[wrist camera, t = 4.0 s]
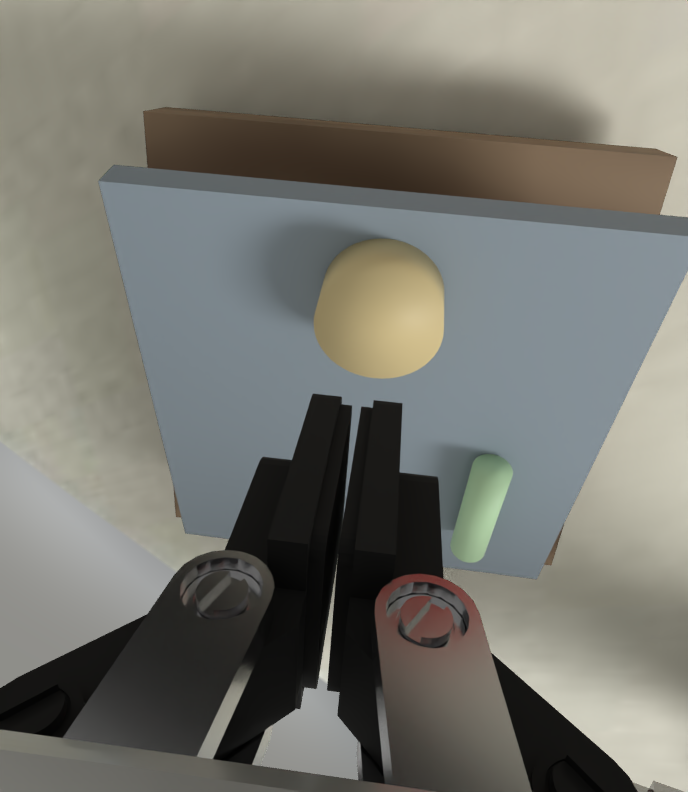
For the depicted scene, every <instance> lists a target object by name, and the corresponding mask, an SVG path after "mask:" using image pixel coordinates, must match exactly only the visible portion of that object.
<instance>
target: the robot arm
mask: <svg viewBox="0 0 688 792" xmlns="http://www.w3.org/2000/svg"><path fill="white" fill-rule="evenodd" d="M402 404H403V403H396V402H387V401H378V400H374V401H373V408H371V407H362V406H361V412H360V418H359V424H358V430H357V436H356V443H355V449H354V455H353V461H352V468H351V474H350V480H349V486H348V493H347V499H346V505H345V511H344V503H345V491H346V478H347V466H348V454H349V442H350V430H351V418H352V405H344V404H342V397H341V396H331V395H322V394H312V397H311V400H310V403H309V407H308V410H307V413H306V416H305V419H304V423H303V426H302V429H301V432H300V436H299V439H298V442H297V445H296V448H295V452H294V455H293V458H292V460H288V459H279V458H270V457H262V458H261V460H260V462H259V464H258V466H257V469H256V471H255V474H254V477H253V479H252V482H251V484H250V487H249V489H248V492H247V495H246V497H245V500H244V502H243V505H242V507H241V510H240V513H239V515H238V518H237V520H236V523H235V525H234V528H233V531H232V533H231V536H230V538H229V541H228V543H227V546H226V549H225V550H222V551H212V552H209V553H206V554H203V555H200V556H197V557H195V558H194V559H192V560H190V561H189V562H187V563H186V564H184V565H183V566H182V567H181V568H180V569H179V570H178V571H177V573H176V574H175V575H174V576H173V578H172V579H171V581H170V582H169V583H168V585H167V587H166V588H165V589H164V591H163V592H162V594H161V595H160V597H159V598H158V599H157V601H156V602H155V604H154V605H153V607H152V608H151V610H150V611H149V613H148V614H147V615H145V616H143V617H141V618H139V619H137V620H135V621H133V622H131V623H129V624H126V625H124V626H122V627H120V628H118V629H116V630H114V631H112V632H110V633H108V634H106V635H104V636H102V637H100V638H98V639H96V640H94V641H92V642H89V643H87V644H86V645H83V646H81V647H79V648H77V649H75V650H73V651H71V652H69V653H67V654H65V655H63V656H61V657H59V658H57V659H55V660H52V661H50V662H48V663H47V664H44V665H42V666H40V667H38V668H36V669H34V670H32V671H30V672H28V673H26V674H24V675H22V676H20V677H18V678H16V679H15V680H13V681H11V682H10V683H8V684H6V685H5V686H3V687H2V688H0V792H683V791H681V790H678V789H675V788H672V787H670V786H667V785H664V784H661V783H658V782H656V781H653V782H652V784H651V786H650V788H647V787H644V786H641V785H638V784H636V783H633V782H632V781H631V779H630V778H629V776H628V775H627V774H626V773H625V772H624V771H623V770H622V769H621V768H620V767H619V766H618V764H617V763H616V762H615V761H614V760H613V759H612V758H611V757H609V756H608V755H607V754H606V753H605V752H604V751H603V750H601V749H600V748H599V747H598V746H597V745H596V744H595V743H593V742H592V741H591V740H590V739H589V738H588V737H587V736H585V735H584V734H583V733H582V732H581V731H580V730H579V729H577V728H576V727H575V726H574V725H573V724H572V723H571V722H569V721H568V720H567V719H566V718H565V717H564V716H563V715H561V714H560V713H559V712H558V711H557V710H556V709H555V708H554V707H552V706H551V705H550V704H549V703H548V702H547V701H546V700H544V699H543V698H542V697H541V696H540V695H539V694H538V693H536V692H535V691H534V690H533V689H532V688H531V687H530V686H528V685H527V684H526V683H525V682H524V681H523V680H522V679H520V678H519V677H518V676H517V675H516V674H515V673H514V672H512V671H511V670H510V669H509V668H508V667H507V666H506V665H505V664H503V663H502V662H501V661H500V660H499V659H498V658H497V657H495V656H494V655H493V654H492V653H491V651H490V648H489V644H488V641H487V637H486V634H485V631H484V627H483V624H482V620H481V617H480V614H479V612H478V610H477V607H476V605H475V603H474V601H473V600H472V599H471V598H470V597H469V596H468V595H467V594H466V592H465V591H464V590H463V589H461V588H460V587H458V586H456V585H455V584H453V583H452V582H450V581H448V580H445V579H443V560H442V540H441V519H440V498H439V481H438V477H436V476H428V475H419V474H410V473H401V472H400V451H401V428H402ZM343 515H344V517H343ZM337 559H338V562H337ZM336 565H337V574H336V586H335V599H334V611H333V624H332V636H331V648H330V661H329V673H328V686H327V690H328V691H336V692H340V695H339V706H338V717H339V718H340V719H341V720H342V721H343V723H344V724H345V725H346V726H347V727H348V729H349V730H350V731H351V732H352V734H353V735H354V736H355V737H356V738H357V740H358V745H357V767H358V780H353V779H346V778H339V777H332V776H325V775H318V774H311V773H304V772H298V771H291V770H284V769H277V768H270V767H263V766H261V763H262V761H263V758H264V755H265V752H266V750H267V747H268V745H269V742H270V738H271V733H272V726H273V724H274V723H276V722H277V721H279V720H280V719H282V718H283V717H285V716H286V715H288V714H289V713H291V712H292V711H294V710H295V708H297V709H300V707H301V702H302V696H303V691H304V687H306V688H314V689H316V688H317V684H318V678H319V672H320V665H321V659H322V653H323V646H324V640H325V634H326V628H327V621H328V615H329V609H330V602H331V596H332V590H333V584H334V577H335V571H336Z"/></svg>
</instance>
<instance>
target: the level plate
mask: <svg viewBox="0 0 688 792" xmlns="http://www.w3.org/2000/svg"><path fill="white" fill-rule="evenodd" d="M98 182H99V186H100V190H101V194H102V198H103V202H104V206H105V210H106V214H107V218H108V222H109V226H110V231H111V235H112V239H113V243H114V247H115V251H116V255H117V259H118V263H119V267H120V271H121V275H122V279H123V283H124V287H125V291H126V295H127V299H128V303H129V307H130V311H131V315H132V319H133V323H134V327H135V332H136V336H137V340H138V344H139V348H140V352H141V356H142V360H143V364H144V368H145V372H146V376H147V380H148V384H149V388H150V392H151V396H152V400H153V404H154V408H155V412H156V416H157V420H158V424H159V428H160V432H161V437H162V441H163V445H164V449H165V453H166V457H167V461H168V465H169V469H170V473H171V477H172V481H173V485H174V489H175V493H176V497H177V501H178V505H179V509H180V513H181V517H182V521H183V525H184V529H185V533H187V534H195V535H202V536H210V537H218V538H225V539H229V538H230V536H231V533H232V531H233V528H234V525H235V523H236V520H237V518H238V515H239V513H240V510H241V507H242V505H243V502H244V500H245V497H246V495H247V492H248V489H249V487H250V484H251V482H252V479H253V477H254V474H255V471H256V469H257V466H258V464H259V462H260V460H261V458H262V457H270V458H279V459H288V460H292V458H293V455H294V452H295V448H296V445H297V442H298V439H299V436H300V432H301V429H302V426H303V423H304V419H305V416H306V413H307V410H308V407H309V403H310V400H311V397H312V394H322V395H331V396H341V397H342V404H344V405H352V418H351V430H350V442H349V454H348V466H347V478H346V491H345V503H344V511H345V505H346V499H347V493H348V486H349V480H350V474H351V468H352V461H353V455H354V449H355V443H356V436H357V430H358V424H359V418H360V412H361V406H362V407H371V408H373V401H374V400H378V401H387V402H396V403H403V404H402V428H401V451H400V472H401V473H410V474H419V475H428V476H436V477H438V481H439V498H440V519H441V540H442V560H443V567H447V568H455V569H462V570H470V571H478V572H485V573H493V574H500V575H508V576H516V577H523V578H531V579H537V578H538V576H539V574H540V571H541V569H542V567H543V565H544V563H545V561H546V559H547V557H548V555H549V553H550V551H551V549H552V547H553V545H554V543H555V541H556V539H557V537H558V535H559V533H560V531H561V529H562V526H563V524H564V522H565V520H566V518H567V516H568V514H569V512H570V510H571V508H572V506H573V504H574V502H575V500H576V498H577V496H578V494H579V492H580V490H581V488H582V486H583V483H584V481H585V479H586V477H587V475H588V473H589V471H590V469H591V467H592V465H593V463H594V461H595V459H596V457H597V455H598V453H599V451H600V449H601V447H602V445H603V443H604V440H605V438H606V436H607V434H608V432H609V430H610V428H611V426H612V424H613V422H614V420H615V418H616V416H617V414H618V412H619V410H620V408H621V406H622V404H623V402H624V400H625V398H626V395H627V393H628V391H629V389H630V387H631V385H632V383H633V381H634V379H635V377H636V375H637V373H638V371H639V369H640V367H641V365H642V363H643V361H644V359H645V357H646V355H647V352H648V350H649V348H650V346H651V344H652V342H653V340H654V338H655V336H656V334H657V332H658V330H659V328H660V326H661V324H662V322H663V320H664V318H665V316H666V314H667V312H668V310H669V307H670V305H671V303H672V301H673V299H674V297H675V295H676V293H677V291H678V289H679V287H680V285H681V283H682V281H683V279H684V277H685V275H686V273H687V271H688V217H677V216H666V215H655V214H644V213H633V212H623V211H612V210H601V209H590V208H579V207H568V206H557V205H546V204H535V203H525V202H514V201H503V200H492V199H481V198H470V197H459V196H448V195H437V194H426V193H416V192H405V191H394V190H383V189H372V188H361V187H350V186H339V185H328V184H317V183H307V182H296V181H285V180H274V179H263V178H252V177H241V176H230V175H219V174H209V173H198V172H187V171H176V170H165V169H154V168H143V167H132V166H121V165H113V166H112V167H111V168H110V169H109V170H108V171H107V172H106V173H105V174H104V176H103V177H102V178H101V179H100V180H99V181H98ZM343 517H344V515H343Z"/></svg>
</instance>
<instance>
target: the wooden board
mask: <svg viewBox="0 0 688 792" xmlns="http://www.w3.org/2000/svg"><path fill="white" fill-rule="evenodd" d="M143 114H144V127H145V139H146V151H147V164H148V168H154V169H165V170H176V171H187V172H198V173H209V174H219V175H230V176H241V177H252V178H263V179H274V180H285V181H296V182H307V183H317V184H328V185H339V186H350V187H361V188H372V189H383V190H394V191H405V192H416V193H426V194H437V195H448V196H459V197H470V198H481V199H492V200H503V201H514V202H525V203H535V204H546V205H557V206H568V207H579V208H590V209H601V210H612V211H623V212H633V213H644V214H655V215H660V212H661V209H662V206H663V202H664V199H665V196H666V193H667V189H668V186H669V183H670V180H671V176H672V173H673V170H674V167H675V164H676V160H677V157H676V156H673V155H671V154H668V153H665V152H663V151H660V150H657V149H652V148H640V147H628V146H616V145H605V144H593V143H581V142H569V141H558V140H546V139H534V138H522V137H510V136H499V135H487V134H475V133H463V132H452V131H440V130H428V129H416V128H405V127H393V126H381V125H369V124H358V123H346V122H334V121H322V120H311V119H299V118H287V117H275V116H264V115H252V114H240V113H228V112H216V111H205V110H193V109H181V108H169V107H164V108H159V109H153V110H148V111H143ZM174 498H175V510H176V517H181V513H180V509H179V505H178V501H177V497H176V493H175V489H174ZM181 518H182V517H181ZM563 526H564V524H563ZM563 526H562V529H563ZM562 529H561V531H560V533H559V535H558V537H557V539H556V541H555V543H554V545H553V547H552V549H551V551H550V553H549V555H548V557H547V559H546V561H545V563H544V564H545V565H551V564H552V561H553V558H554V555H555V551H556V548H557V545H558V542H559V538H560V535H561V532H562Z"/></svg>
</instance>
